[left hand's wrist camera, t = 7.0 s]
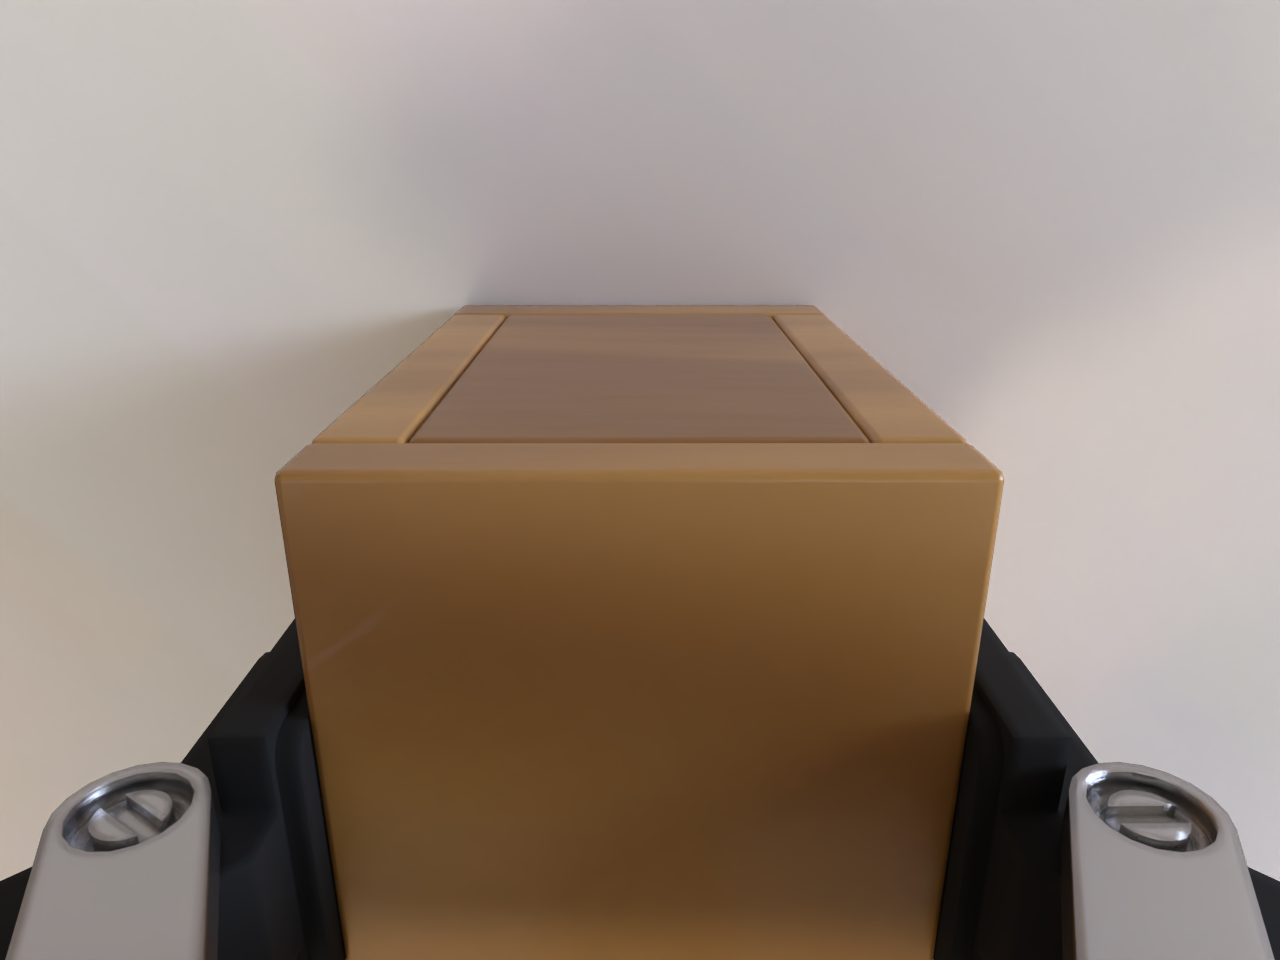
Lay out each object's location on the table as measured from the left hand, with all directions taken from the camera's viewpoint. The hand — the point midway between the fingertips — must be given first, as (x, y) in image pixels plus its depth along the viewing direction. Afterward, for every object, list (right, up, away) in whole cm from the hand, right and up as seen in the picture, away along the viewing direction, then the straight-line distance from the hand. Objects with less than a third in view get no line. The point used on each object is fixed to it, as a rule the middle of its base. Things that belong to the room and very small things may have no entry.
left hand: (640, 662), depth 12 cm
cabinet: (0, -4, +7) cm, 8 cm away
